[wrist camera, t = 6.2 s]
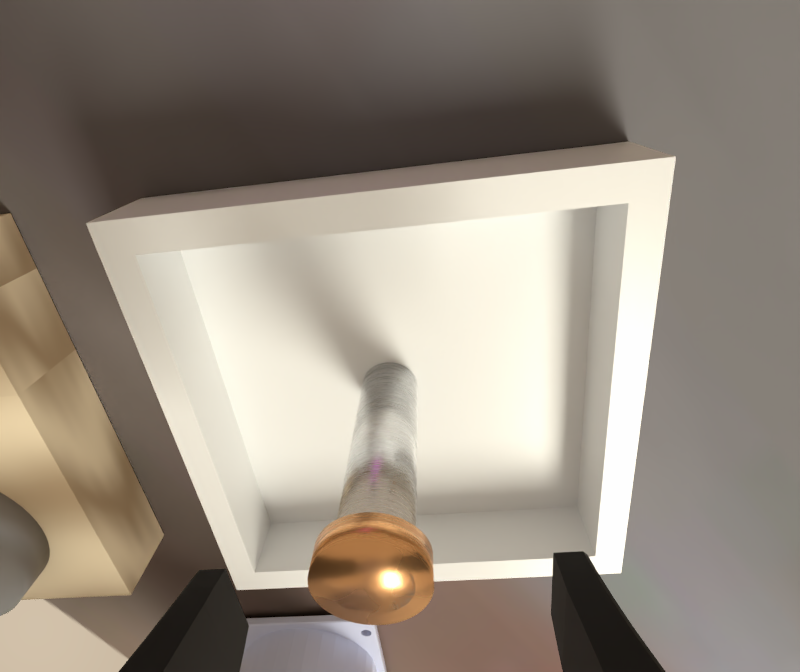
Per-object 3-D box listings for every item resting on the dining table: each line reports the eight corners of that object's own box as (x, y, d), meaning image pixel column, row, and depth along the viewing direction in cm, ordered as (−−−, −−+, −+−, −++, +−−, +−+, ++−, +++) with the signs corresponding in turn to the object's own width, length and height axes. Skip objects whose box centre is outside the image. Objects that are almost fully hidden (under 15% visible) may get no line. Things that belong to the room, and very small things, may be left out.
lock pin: (432, 413, 19) (439, 622, 12) (358, 420, 19) (321, 627, 12) (424, 348, 17) (426, 538, 10) (345, 356, 18) (294, 546, 11)
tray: (596, 511, 21) (621, 573, 19) (258, 529, 23) (236, 590, 20) (629, 141, 15) (675, 156, 12) (141, 198, 16) (85, 223, 13)
